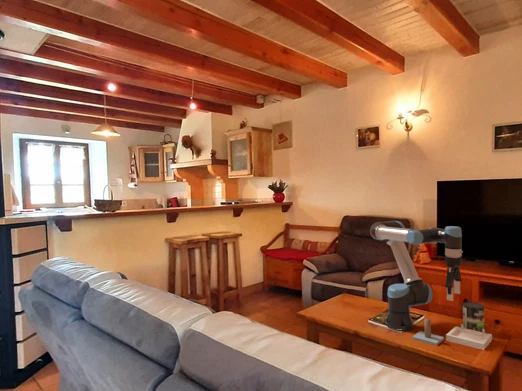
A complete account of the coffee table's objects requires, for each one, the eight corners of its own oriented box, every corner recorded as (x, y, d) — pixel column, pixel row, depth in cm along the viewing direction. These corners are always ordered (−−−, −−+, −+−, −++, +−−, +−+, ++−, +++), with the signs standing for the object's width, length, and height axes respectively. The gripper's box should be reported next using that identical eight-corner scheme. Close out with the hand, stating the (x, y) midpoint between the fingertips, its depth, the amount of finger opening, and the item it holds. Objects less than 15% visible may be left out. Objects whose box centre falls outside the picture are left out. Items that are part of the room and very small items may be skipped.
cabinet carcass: (446, 340, 181) (446, 330, 181) (455, 331, 192) (455, 322, 192) (484, 350, 169) (483, 340, 169) (492, 340, 179) (491, 330, 179)
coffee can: (489, 332, 189) (488, 306, 189) (474, 335, 186) (473, 308, 186) (473, 325, 199) (472, 300, 199) (458, 328, 196) (457, 303, 196)
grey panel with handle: (412, 339, 184) (411, 319, 184) (420, 333, 191) (419, 314, 191) (436, 346, 176) (435, 325, 176) (443, 340, 183) (443, 319, 183)
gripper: (454, 261, 169) (455, 305, 170) (467, 253, 187) (467, 292, 188) (438, 259, 174) (438, 301, 175) (451, 251, 192) (452, 289, 193)
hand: (453, 296), depth 182 cm, fingers open, 13 cm apart
